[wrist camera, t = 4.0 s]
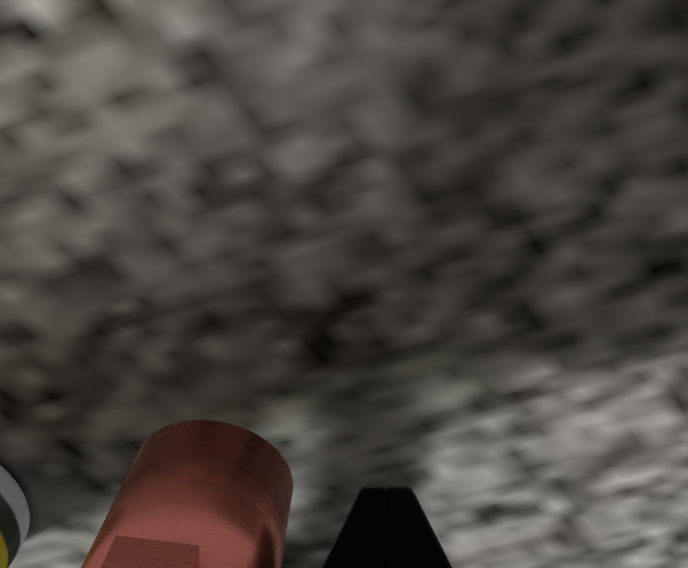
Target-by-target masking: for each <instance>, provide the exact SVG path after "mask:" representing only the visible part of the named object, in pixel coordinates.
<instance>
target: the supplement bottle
mask: <svg viewBox="0 0 688 568" xmlns="http://www.w3.org/2000/svg"><path fill="white" fill-rule="evenodd" d="M29 525H30V513H29V507H28V503H27V501H26V498H25V496H24V494H23V492H22V490H21V488H20V487H19V485H18V484H17V482H16V481H15V480H14V478H13V477H12V476H11V475H10V474H9V473H8V472H7V471H6V470H5V469H4V468H3V467H2V466H1V465H0V568H8V567H9V566H10V564H11V563H12V561H13V559H14V558H15V556H16V554H17V553H18V551H19V549H20V547H21V546H22V544H23V542H24V540H25V538H26V536H27V533H28V530H29Z"/></svg>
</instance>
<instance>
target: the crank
mask: <svg viewBox="0 0 688 568" xmlns="http://www.w3.org/2000/svg"><path fill="white" fill-rule="evenodd" d="M292 493H293V479H292V474H291V471H290V468H289V466H288V464H287V463H286V461H285V459H284V458H283V457H282V455H281V454H280V453H279V452H278V451H277V450H276V449H275V448H274V447H273V446H272V445H271V444H270V443H268V442H267V441H266V440H264V439H263V438H261V437H260V436H258V435H256V434H254V433H252V432H250V431H248V430H246V429H243V428H241V427H238V426H235V425H232V424H228V423H223V422H218V421H208V420H192V421H184V422H179V423H175V424H172V425H169V426H166V427H164V428H162V429H160V430H158V431H156V432H155V433H153V434H152V435H151V436H149V437H148V438H147V439H146V441H145V442H144V443H143V444H142V446H141V447H140V449H139V451H138V453H137V455H136V457H135V459H134V461H133V463H132V465H131V467H130V469H129V471H128V473H127V475H126V477H125V479H124V481H123V483H122V486H121V488H120V490H119V492H118V494H117V496H116V498H115V500H114V502H113V504H112V506H111V508H110V510H109V512H108V514H107V516H106V518H105V520H104V522H103V524H102V526H101V528H100V531H99V533H98V535H97V537H96V539H95V541H94V543H93V545H92V547H91V549H90V551H89V553H88V555H87V557H86V559H85V561H84V563H83V565H82V567H81V568H281V562H282V556H283V549H284V543H285V537H286V531H287V524H288V518H289V512H290V505H291V499H292Z"/></svg>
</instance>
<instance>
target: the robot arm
mask: <svg viewBox="0 0 688 568" xmlns="http://www.w3.org/2000/svg"><path fill="white" fill-rule="evenodd" d="M322 568H452V566H451V564H450V562H449V560H448V558H447V556H446V554H445V552H444V550H443V548H442V546H441V544H440V542H439V540H438V538H437V536H436V535H435V533H434V531H433V529H432V527H431V525H430V523H429V521H428V519H427V517H426V515H425V513H424V511H423V509H422V507H421V505H420V503H419V501H418V499H417V497H416V495H415V493H414V491H413V490H412V489H411V488H410V487H408V486H390V487H387V488H385V487H363V488H362V489H361V490H360V491H359V493H358V495H357V497H356V499H355V501H354V503H353V505H352V507H351V509H350V511H349V514H348V516H347V518H346V520H345V522H344V524H343V526H342V528H341V530H340V532H339V534H338V536H337V538H336V540H335V542H334V544H333V546H332V548H331V550H330V552H329V554H328V556H327V559H326V561H325V563H324V565H323V567H322Z"/></svg>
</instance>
